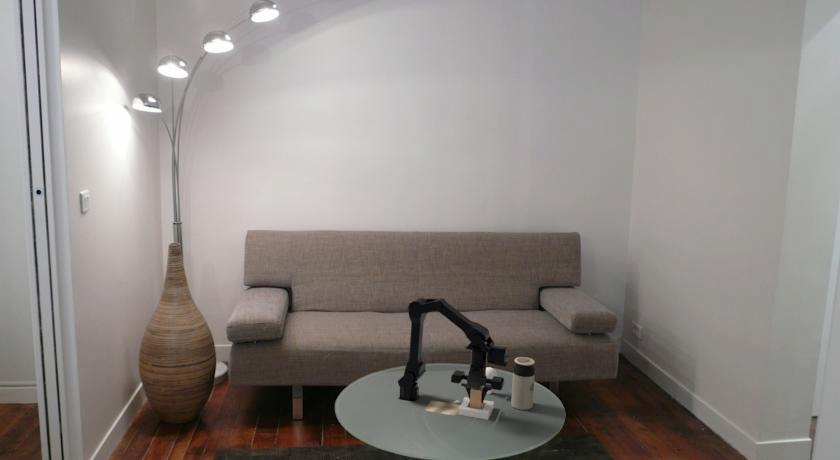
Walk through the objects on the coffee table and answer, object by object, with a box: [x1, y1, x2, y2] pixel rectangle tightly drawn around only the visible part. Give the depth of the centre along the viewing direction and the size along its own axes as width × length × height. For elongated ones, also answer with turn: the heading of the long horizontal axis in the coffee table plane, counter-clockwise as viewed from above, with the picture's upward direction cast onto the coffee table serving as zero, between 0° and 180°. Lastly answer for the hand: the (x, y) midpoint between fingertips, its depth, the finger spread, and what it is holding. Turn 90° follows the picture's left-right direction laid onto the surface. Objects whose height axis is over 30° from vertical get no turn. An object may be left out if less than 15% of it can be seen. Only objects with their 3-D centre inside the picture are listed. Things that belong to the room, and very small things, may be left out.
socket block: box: [457, 396, 495, 421], centre depth 221 cm, size 11×10×4 cm
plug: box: [470, 386, 484, 409], centre depth 220 cm, size 4×4×7 cm
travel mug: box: [510, 356, 536, 411], centre depth 226 cm, size 8×8×18 cm
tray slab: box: [423, 399, 461, 417], centre depth 223 cm, size 12×9×1 cm
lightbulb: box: [486, 366, 498, 395], centre depth 236 cm, size 6×6×11 cm
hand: (476, 401), depth 220 cm, fingers closed on plug, 4 cm apart
